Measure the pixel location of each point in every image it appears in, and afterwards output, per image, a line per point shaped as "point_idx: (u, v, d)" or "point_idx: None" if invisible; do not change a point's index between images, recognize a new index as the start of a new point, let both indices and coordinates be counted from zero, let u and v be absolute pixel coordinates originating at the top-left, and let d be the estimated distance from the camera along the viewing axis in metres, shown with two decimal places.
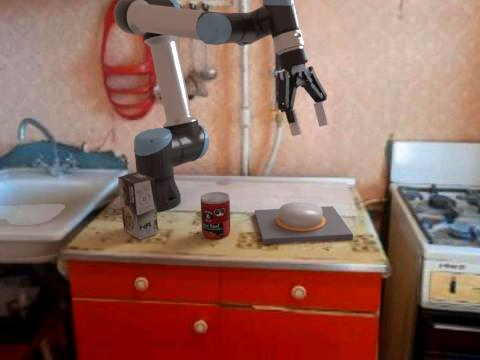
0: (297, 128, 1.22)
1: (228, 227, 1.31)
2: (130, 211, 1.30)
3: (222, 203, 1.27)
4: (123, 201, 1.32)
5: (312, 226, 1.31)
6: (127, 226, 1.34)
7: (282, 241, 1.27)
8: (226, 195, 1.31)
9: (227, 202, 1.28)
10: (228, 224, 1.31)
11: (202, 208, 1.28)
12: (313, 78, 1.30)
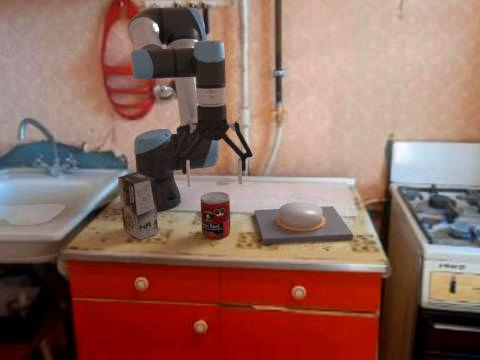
0: (187, 180, 1.26)
1: (228, 227, 1.31)
2: (130, 211, 1.30)
3: (222, 203, 1.27)
4: (123, 201, 1.32)
5: (312, 226, 1.31)
6: (127, 226, 1.34)
7: (282, 241, 1.27)
8: (226, 195, 1.31)
9: (227, 202, 1.28)
10: (228, 224, 1.31)
11: (202, 208, 1.28)
12: (237, 135, 1.24)
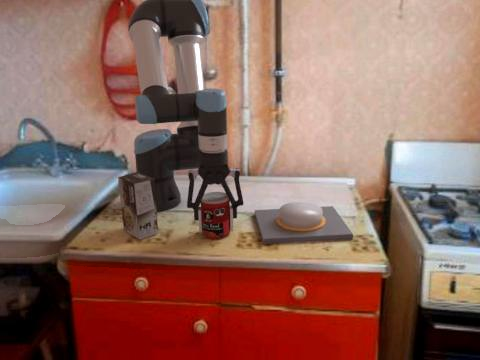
0: (199, 226, 1.31)
1: (228, 227, 1.31)
2: (130, 211, 1.30)
3: (222, 202, 1.27)
4: (123, 201, 1.32)
5: (312, 226, 1.31)
6: (127, 226, 1.34)
7: (282, 241, 1.27)
8: (226, 195, 1.31)
9: (227, 202, 1.28)
10: (228, 224, 1.31)
11: (202, 208, 1.28)
12: None
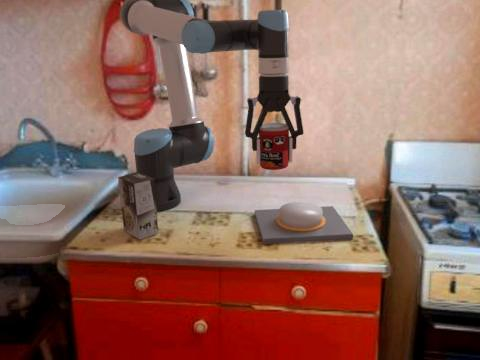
0: (257, 157, 1.27)
1: (287, 158, 1.27)
2: (130, 211, 1.30)
3: (282, 130, 1.23)
4: (123, 201, 1.32)
5: (312, 226, 1.31)
6: (127, 226, 1.34)
7: (282, 241, 1.27)
8: (285, 125, 1.27)
9: (287, 130, 1.24)
10: (287, 155, 1.27)
11: (261, 137, 1.24)
12: (295, 109, 1.24)
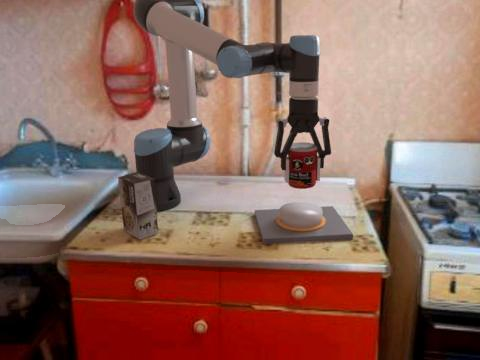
0: (285, 176, 1.31)
1: (315, 177, 1.30)
2: (130, 211, 1.30)
3: (312, 151, 1.26)
4: (123, 201, 1.32)
5: (312, 226, 1.31)
6: (127, 226, 1.34)
7: (282, 241, 1.27)
8: (313, 145, 1.30)
9: (316, 151, 1.28)
10: None
11: (291, 157, 1.28)
12: (323, 130, 1.28)
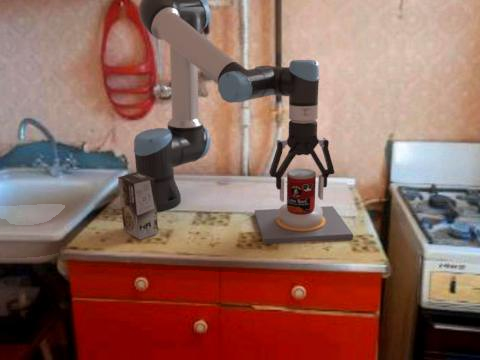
0: (281, 195, 1.32)
1: (314, 203, 1.33)
2: (130, 211, 1.30)
3: (310, 178, 1.29)
4: (123, 201, 1.32)
5: (312, 226, 1.31)
6: (127, 226, 1.34)
7: (282, 241, 1.27)
8: (312, 171, 1.33)
9: (314, 178, 1.30)
10: (314, 200, 1.33)
11: (290, 183, 1.30)
12: (324, 151, 1.30)
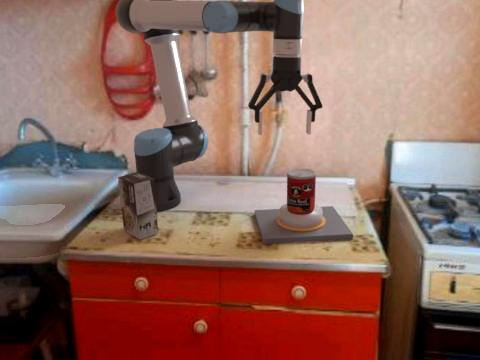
0: (259, 128, 1.33)
1: (314, 203, 1.33)
2: (130, 211, 1.30)
3: (311, 178, 1.29)
4: (123, 201, 1.32)
5: (312, 226, 1.31)
6: (127, 226, 1.34)
7: (282, 241, 1.27)
8: (312, 171, 1.33)
9: (314, 178, 1.30)
10: (314, 200, 1.33)
11: (290, 184, 1.30)
12: (309, 86, 1.30)
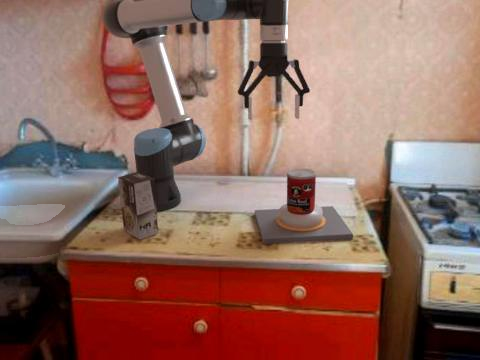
0: (248, 114, 1.37)
1: (314, 203, 1.33)
2: (130, 211, 1.30)
3: (310, 178, 1.29)
4: (123, 201, 1.32)
5: (312, 226, 1.31)
6: (127, 226, 1.34)
7: (282, 241, 1.27)
8: (312, 171, 1.33)
9: (314, 178, 1.30)
10: (314, 200, 1.33)
11: (290, 184, 1.30)
12: (296, 71, 1.34)
